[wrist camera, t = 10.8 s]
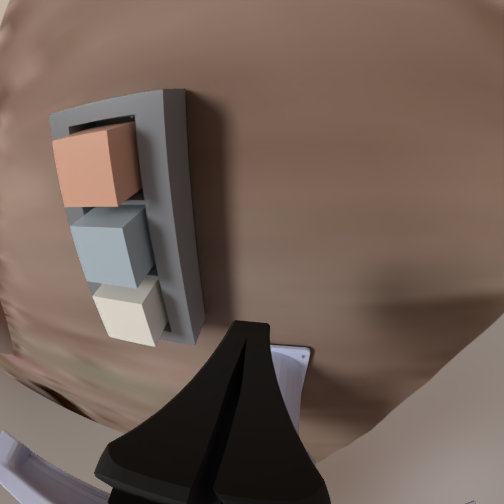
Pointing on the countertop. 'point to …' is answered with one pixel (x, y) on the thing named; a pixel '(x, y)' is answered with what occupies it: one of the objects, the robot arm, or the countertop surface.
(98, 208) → the key slate
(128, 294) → the key ivory
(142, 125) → the grey slotted frame
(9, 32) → the countertop surface
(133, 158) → the key terracotta
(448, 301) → the countertop surface
